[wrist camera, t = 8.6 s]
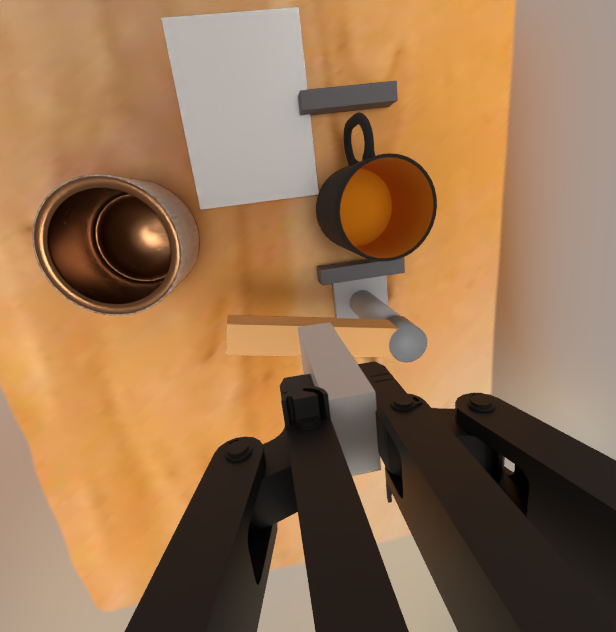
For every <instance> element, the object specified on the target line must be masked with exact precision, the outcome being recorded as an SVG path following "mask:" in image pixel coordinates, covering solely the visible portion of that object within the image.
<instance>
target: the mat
mask: <svg viewBox="0 0 616 632" xmlns="http://www.w3.org/2000/svg"><path fill="white" fill-rule="evenodd" d="M161 19H162V24H163V29H164V34H165V39H166V44H167V49H168V54H169V59H170V63H171V68H172V73H173V78H174V83H175V88H176V93H177V98H178V103H179V108H180V112H181V117H182V122H183V127H184V132H185V137H186V142H187V147H188V152H189V156H190V161H191V166H192V171H193V176H194V181H195V186H196V191H197V196H198V201H199V205H200V210H202V209H210V208H218V207H226V206H234V205H241V204H249V203H257V202H265V201H272V200H280V199H288V198H296V197H304V196H311V195H319V192H318V183H317V174H316V164H315V155H314V146H313V136H312V127H311V118H310V114H308V115H300V112H299V103H298V95H299V92H300V90H307V81H306V72H305V62H304V53H303V44H302V35H301V25H300V16H299V7H293V8H280V9H267V10H254V11H242V12H229V13H216V14H203V15H190V16H177V17H164V18H161Z"/></svg>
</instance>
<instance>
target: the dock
mask: <svg viewBox="0 0 616 632" xmlns="http://www.w3.org/2000/svg"><path fill="white" fill-rule="evenodd" d="M396 101H397V81H389V82H379V83H369V84H359V85H349V86H339V87H329V88H319V89H309V90H300V92H299V95H298V103H299V112H300V115H308V114H310V115H316V114H325V113H335V112H344V111H354V110H363V109H372V108H382V107H389V106H390V105H392V104H393V103H394V102H396ZM317 272H318V281H319V282H320V283H321V284H322V285H327V284H332V286H333V296H334V305H335V315H336V318H353V319H387V318H389V317H391V316H395V315H399V314H398V313H396V312H395V311H394V310H392V309H391V308H390V307H388V296H387V278H386V275H393V274H399V273H405V267H404V258H400V259H397V260H393V261H375V260H370V259H364V260H357V261H351V262H344V263H337V264H330V265H324V266H317ZM399 316H400V315H399Z"/></svg>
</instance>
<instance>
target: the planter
mask: <svg viewBox="0 0 616 632" xmlns="http://www.w3.org/2000/svg"><path fill="white" fill-rule="evenodd" d="M33 247H34V252H35V255H36V258H37V261H38V264H39V266H40V268H41V270H42V272H43V273H44V275H45V277H46V278H47V279H48V281H49V282H50V283H51V284H52V286H53V287H54V288H55V289H56V290H57V291H58V292H59V293H60V294H61V295H63V296H64V297H65V298H67V299H68V300H69V301H71V302H72V303H74V304H76V305H78V306H80V307H82V308H84V309H86V310H89V311H92V312H95V313H99V314H104V315H113V316H122V315H131V314H135V313H139V312H142V311H145V310H147V309H149V308H151V307H153V306H154V305H156V304H158V303H159V302H160V301H162V300H163V299H164V298H165V297H166V296H167V295H168V294H169V293H170V292H171V291H172V290H173V289H174V288H175V287H176V286H177V285H178V284H179V283H180V282H181V281H182V280H183V279H184V278H185V277H186V276H187V275H188V274H189V273H190V271H191V270H192V268H193V266H194V264H195V262H196V259H197V256H198V251H199V234H198V229H197V225H196V223H195V220H194V218H193V216H192V214H191V212H190V211H189V209H188V208H187V207H186V205H185V204H184V203H183V202H182V201H181V200H180V199H179V198H178V197H177V196H176V195H175V194H173V193H172V192H171V191H169V190H168V189H166V188H164V187H162V186H160V185H158V184H155V183H152V182H148V181H143V180H137V179H130V178H124V177H118V176H113V175H105V174H92V175H84V176H79V177H76V178H73V179H70V180H68V181H66V182H64V183H62V184H61V185H59V186H58V187H56V188H55V189H54V190H53V191H52V192H50V193H49V194H48V196H47V197H46V198H45V199H44V201H43V202H42V204H41V205H40V207H39V209H38V211H37V214H36V217H35V220H34V225H33Z"/></svg>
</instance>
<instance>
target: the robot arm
mask: <svg viewBox="0 0 616 632" xmlns="http://www.w3.org/2000/svg"><path fill="white" fill-rule="evenodd" d="M298 334H299V342H300V349H301V357H302V364H303V371H304V375H299V376H294V377H288V378H284V379H283V381H282V383H281V384H280V391H281V398H282V401H281V402H282V408H283V415H284V421H285V428H284V430H283V431H282V433H281V434H280V435H279V436H278V437H276V438H275V439H273V440H271V441H269V442H267V443H265V444H262V443H261V442H260V440H258V439H256V438H253V437H240V438H235V439H232V440H230V441H227V442H226V443H224V444H223V445H221V446H220V447H219V448H218V449H217V451H216V452H215V453H214V455H213V457H212V459H211V461H210V463H209V465H208V467H207V469H206V471H205V473H204V475H203V477H202V479H201V481H200V483H199V485H198V487H197V489H196V491H195V493H194V495H193V497H192V499H191V501H190V503H189V505H188V507H187V509H186V511H185V513H184V515H183V517H182V519H181V521H180V523H179V525H178V527H177V529H176V531H175V533H174V535H173V536H172V538H171V540H170V542H169V544H168V546H167V548H166V550H165V552H164V554H163V556H162V558H161V560H160V562H159V564H158V566H157V568H156V570H155V572H154V574H153V576H152V578H151V580H150V582H149V584H148V586H147V588H146V590H145V592H144V594H143V596H142V598H141V600H140V602H139V604H138V606H137V608H136V610H135V612H134V614H133V616H132V618H131V620H130V622H129V624H128V626H127V628H126V630H125V632H257V628H258V623H259V618H260V613H261V608H262V603H263V598H264V593H265V588H266V583H267V578H268V573H269V568H270V564H271V559H272V554H273V549H274V544H275V539H276V534H277V522H279V521H281V520H283V519H285V518H287V517H289V516H290V515H292V514H294V513H296V512H298V516H299V522H300V529H301V536H302V543H303V550H304V556H305V563H306V570H307V577H308V583H309V590H310V597H311V604H312V610H313V617H314V624H315V631H316V632H409V631H408V629H407V626H406V623H405V620H404V618H403V615H402V612H401V610H400V607H399V604H398V601H397V598H396V596H395V593H394V590H393V588H392V585H391V582H390V579H389V577H388V574H387V571H386V568H385V566H384V563H383V560H382V558H381V555H380V552H379V549H378V546H377V544H376V541H375V538H374V536H373V533H372V530H371V527H370V525H369V522H368V519H367V516H366V514H365V511H364V508H363V505H362V503H361V500H360V497H359V495H358V492H357V489H356V486H355V484H354V481H353V478H352V476H354V475H359V474H363V473H368V472H373V471H378V470H381V465H380V456H381V458H382V460H383V462H384V464H385V474H386V489H387V499H388V503H389V502H392V497H391V495H392V494H393V496H394V498H395V500H396V502H397V504H398V506H399V509H400V511H401V513H402V515H403V517H404V519H405V521H406V523H407V525H408V527H409V530H410V532H411V534H412V536H413V538H414V540H415V542H416V544H417V546H418V548H419V550H420V552H421V555H422V557H423V559H424V561H425V563H426V565H427V567H428V569H429V571H430V574H431V576H432V577H433V580H434V582H435V584H436V586H437V588H438V590H439V592H440V594H441V597H442V599H443V601H444V603H445V605H446V607H447V609H448V611H449V613H450V615H451V618H452V620H453V622H454V624H455V626H456V628H457V630H458V632H616V460H614V459H612V458H610V457H608V456H606V455H604V454H603V453H601V452H599V451H597V450H595V449H593V448H591V447H589V446H587V445H585V444H584V443H582V442H580V441H578V440H576V439H574V438H572V437H570V436H569V435H567V434H565V433H563V432H561V431H559V430H557V429H555V428H554V427H552V426H550V425H548V424H546V423H544V422H542V421H540V420H539V419H537V418H535V417H533V416H531V415H529V414H527V413H525V412H523V411H522V410H520V409H518V408H516V407H514V406H512V405H510V404H508V403H506V402H505V401H502V400H501V399H499V398H497V397H494V396H492V395H488V394H483V393H469V394H465V395H462V396H460V397H459V398H457V400H456V402H455V409H438V408H431V407H430V406H429V405H428V404H427V402H426V401H425V400H423V399H422V398H421V397H419V396H416V395H413V394H407V393H406V392H405V391H404V389H403V388H402V387H401V386H400V384H399V383H398V382H397V381H396V380H395V379H394V377H393V376H392V375H391V374H390V372H389V371H388V370H387V368H386V367H385V366H383V365H381V364H379V363H377V362H369V363H363V364H357V363H356V361H355V360H354V358H353V356H352V355H351V353H350V352H349V350H348V349H347V347H346V346H345V344H344V343H343V341H342V340H341V338H340V337H339V335H338V333H337V332H336V330H335V329H334V327H333V326H332V324H331V323H330V322H328V323H321V324H315V325H309V326H302V327H298ZM505 457H506V458H507V459H509V460H510V461H511V462H513V463H514V464H515V471H514V472H512V471H510V470H509V469H507V468H506V467H505V466H504V459H505Z"/></svg>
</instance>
